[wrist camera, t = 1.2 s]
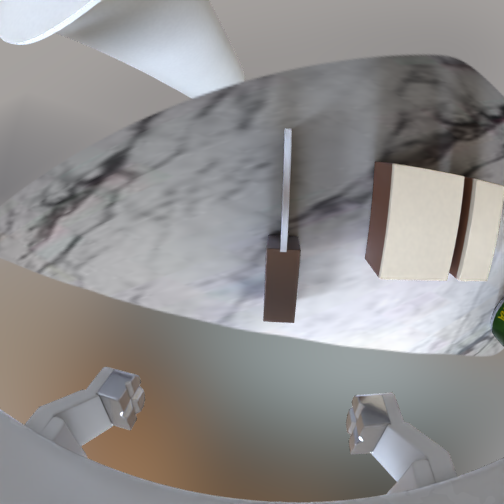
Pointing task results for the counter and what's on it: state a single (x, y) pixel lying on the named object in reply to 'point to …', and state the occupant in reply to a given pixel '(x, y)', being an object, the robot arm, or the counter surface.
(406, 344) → the counter surface
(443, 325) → the counter surface
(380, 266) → the cake
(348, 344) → the counter surface
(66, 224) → the counter surface
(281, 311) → the knife
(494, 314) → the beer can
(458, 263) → the cake slice
